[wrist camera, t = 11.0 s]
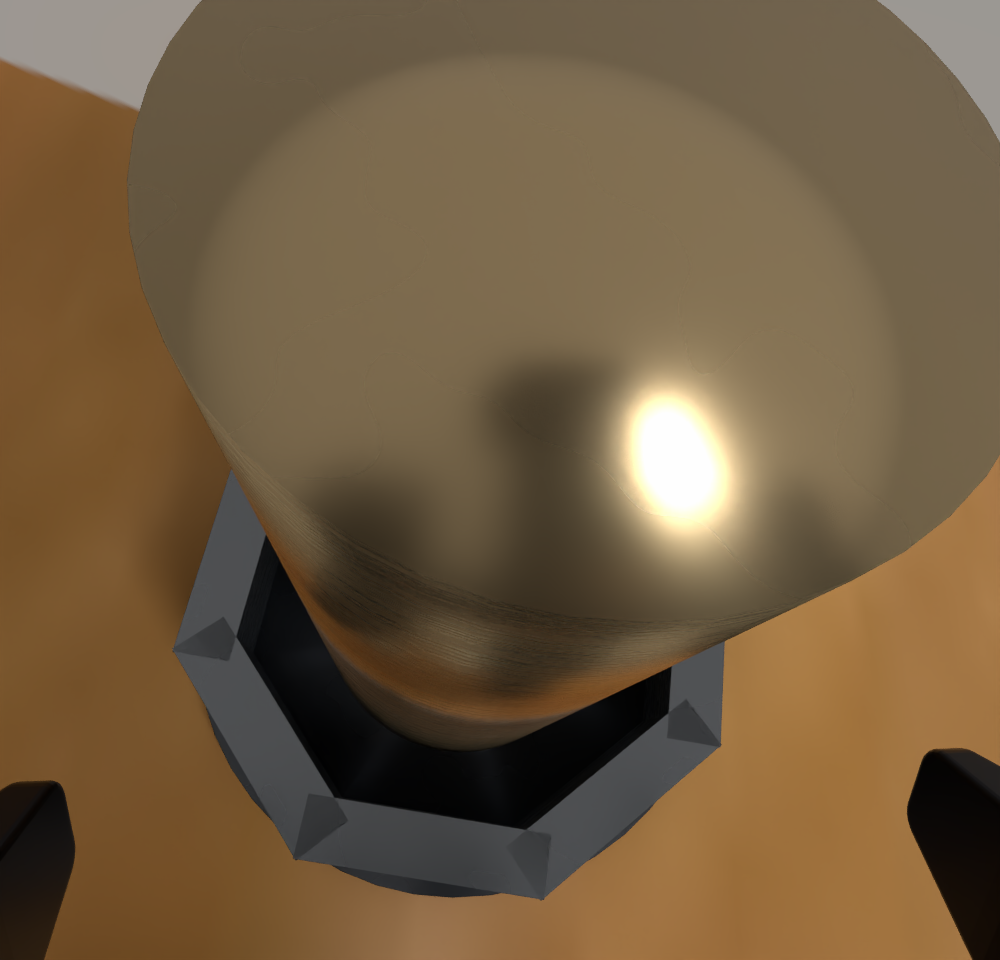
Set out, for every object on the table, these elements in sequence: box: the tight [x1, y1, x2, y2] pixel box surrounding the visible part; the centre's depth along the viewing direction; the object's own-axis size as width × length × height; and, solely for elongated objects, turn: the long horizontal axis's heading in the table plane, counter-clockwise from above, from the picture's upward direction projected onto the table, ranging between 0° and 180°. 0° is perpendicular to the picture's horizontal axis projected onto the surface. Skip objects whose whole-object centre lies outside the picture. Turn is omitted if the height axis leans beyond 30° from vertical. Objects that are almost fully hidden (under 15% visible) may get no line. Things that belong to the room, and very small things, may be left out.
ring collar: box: [172, 469, 725, 900], centre depth 16 cm, size 11×11×2 cm
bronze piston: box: [127, 0, 1000, 752], centre depth 10 cm, size 6×6×12 cm
